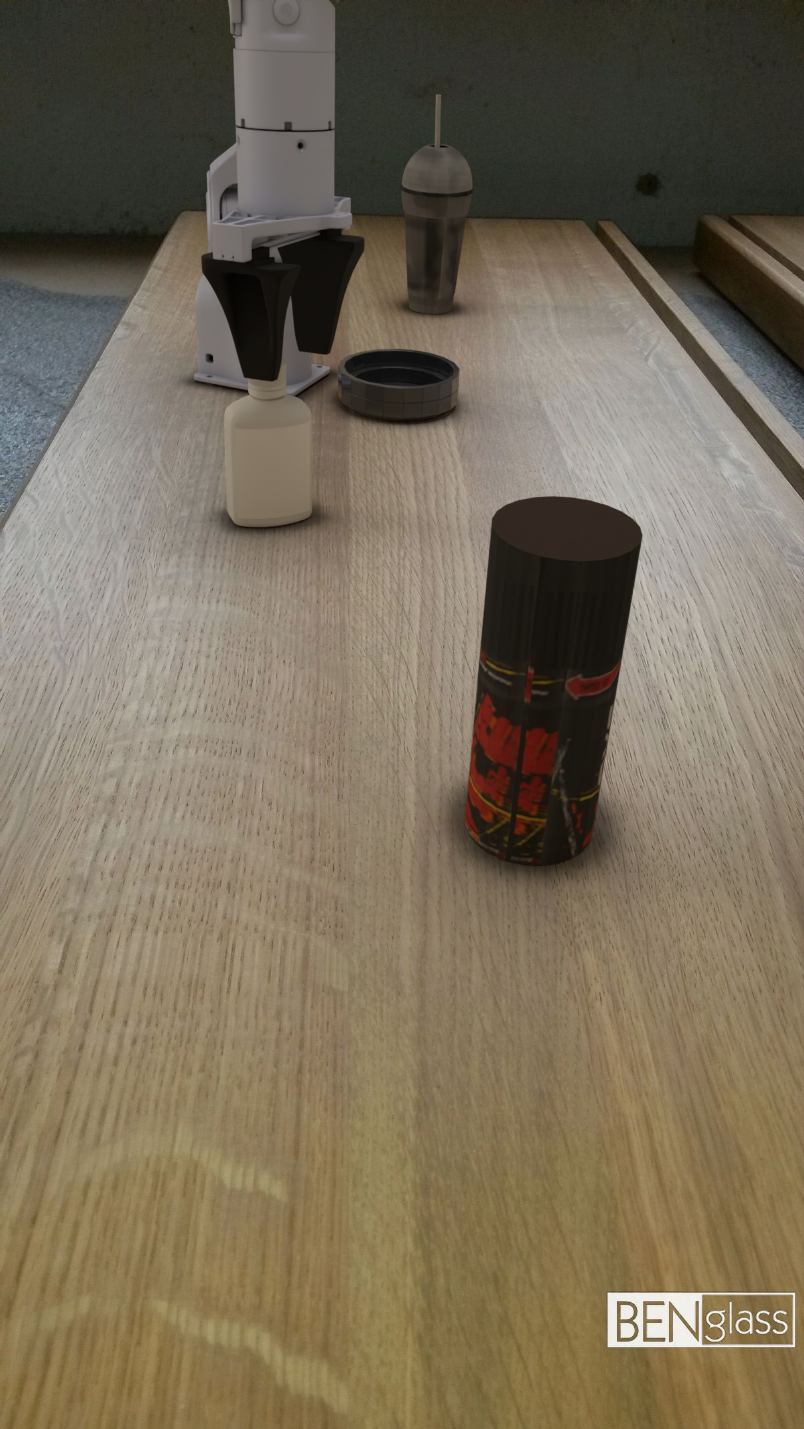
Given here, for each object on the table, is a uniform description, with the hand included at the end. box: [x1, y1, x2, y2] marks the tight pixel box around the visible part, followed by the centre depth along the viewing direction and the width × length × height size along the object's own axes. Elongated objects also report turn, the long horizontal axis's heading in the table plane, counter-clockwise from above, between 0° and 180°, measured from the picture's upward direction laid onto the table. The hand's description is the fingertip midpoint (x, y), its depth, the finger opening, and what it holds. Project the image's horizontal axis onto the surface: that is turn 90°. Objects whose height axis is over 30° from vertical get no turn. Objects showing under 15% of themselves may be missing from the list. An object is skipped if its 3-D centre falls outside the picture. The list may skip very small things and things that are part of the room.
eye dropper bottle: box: [223, 359, 313, 528], centre depth 79 cm, size 4×6×12 cm
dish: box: [337, 348, 461, 422], centre depth 102 cm, size 10×10×3 cm
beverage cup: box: [399, 94, 475, 315], centre depth 121 cm, size 7×7×20 cm
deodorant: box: [464, 495, 643, 866], centre depth 52 cm, size 6×6×15 cm
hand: (288, 365), depth 77 cm, fingers open, 7 cm apart
